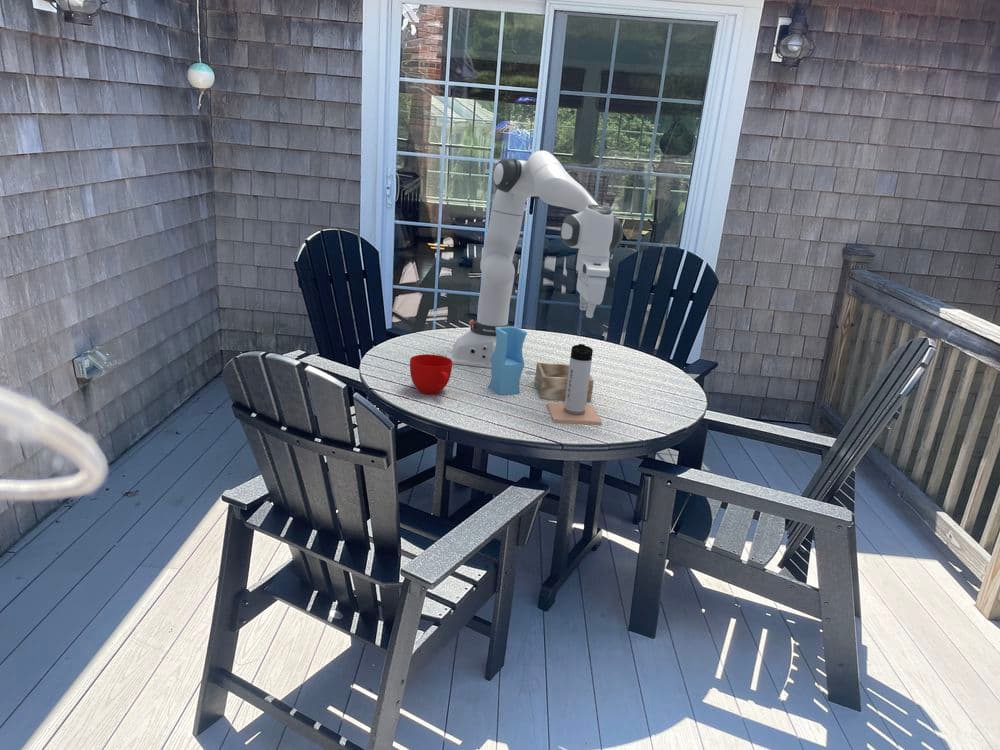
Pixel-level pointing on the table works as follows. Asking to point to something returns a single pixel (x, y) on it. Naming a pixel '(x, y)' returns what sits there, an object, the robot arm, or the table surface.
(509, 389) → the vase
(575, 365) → the travel mug
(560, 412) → the terracotta tile
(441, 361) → the ceramic cup
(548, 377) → the frame
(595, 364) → the table surface
